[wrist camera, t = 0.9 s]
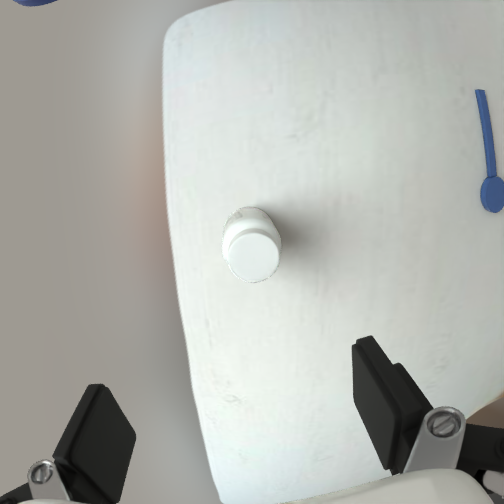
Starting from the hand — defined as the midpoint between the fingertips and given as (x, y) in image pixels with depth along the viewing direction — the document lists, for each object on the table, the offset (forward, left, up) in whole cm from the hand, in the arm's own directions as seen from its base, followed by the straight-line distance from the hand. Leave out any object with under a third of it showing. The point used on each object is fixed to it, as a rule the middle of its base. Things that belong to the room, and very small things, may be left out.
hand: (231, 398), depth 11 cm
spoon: (-19, +24, -19) cm, 36 cm away
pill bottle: (-2, +1, -19) cm, 19 cm away
